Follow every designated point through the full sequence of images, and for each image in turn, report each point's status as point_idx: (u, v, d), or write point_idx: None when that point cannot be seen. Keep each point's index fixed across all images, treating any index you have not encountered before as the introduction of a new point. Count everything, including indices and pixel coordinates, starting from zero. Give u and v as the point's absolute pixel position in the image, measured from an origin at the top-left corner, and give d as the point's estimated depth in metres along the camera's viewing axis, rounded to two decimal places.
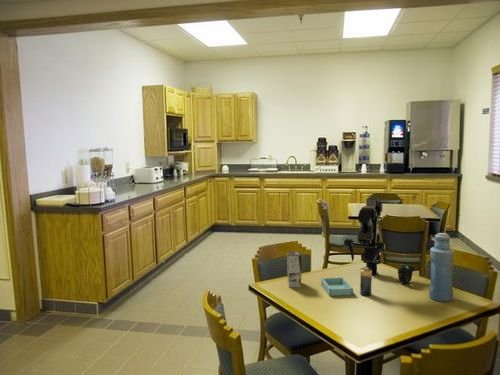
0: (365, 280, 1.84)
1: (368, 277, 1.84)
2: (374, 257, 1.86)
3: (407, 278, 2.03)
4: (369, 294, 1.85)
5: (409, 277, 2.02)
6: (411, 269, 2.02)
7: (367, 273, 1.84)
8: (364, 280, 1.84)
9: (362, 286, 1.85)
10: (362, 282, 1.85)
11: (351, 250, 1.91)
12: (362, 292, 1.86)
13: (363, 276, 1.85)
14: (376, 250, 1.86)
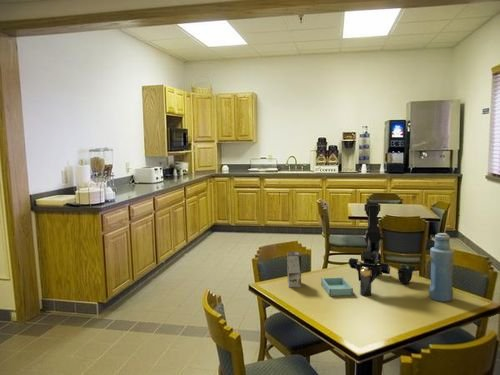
0: (365, 280, 1.84)
1: (368, 277, 1.84)
2: (373, 276, 1.84)
3: (407, 278, 2.03)
4: (369, 294, 1.85)
5: (409, 277, 2.02)
6: (411, 269, 2.02)
7: (367, 273, 1.84)
8: (364, 280, 1.84)
9: (362, 286, 1.85)
10: (362, 282, 1.85)
11: (359, 270, 1.89)
12: (362, 292, 1.86)
13: (363, 276, 1.85)
14: (375, 270, 1.85)
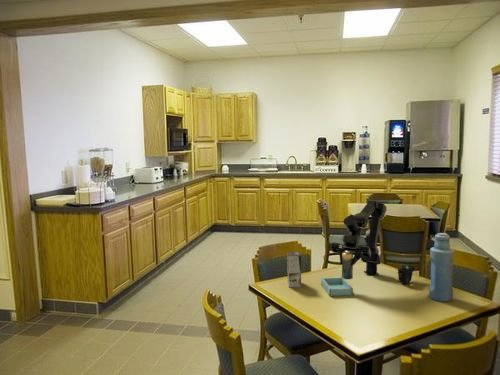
0: (346, 263, 1.87)
1: (349, 260, 1.87)
2: (354, 260, 1.87)
3: (407, 278, 2.03)
4: (350, 277, 1.88)
5: (409, 277, 2.02)
6: (411, 269, 2.02)
7: (348, 257, 1.87)
8: (345, 263, 1.87)
9: (344, 269, 1.88)
10: (343, 265, 1.88)
11: (340, 253, 1.92)
12: (344, 275, 1.89)
13: (344, 259, 1.88)
14: (356, 253, 1.88)
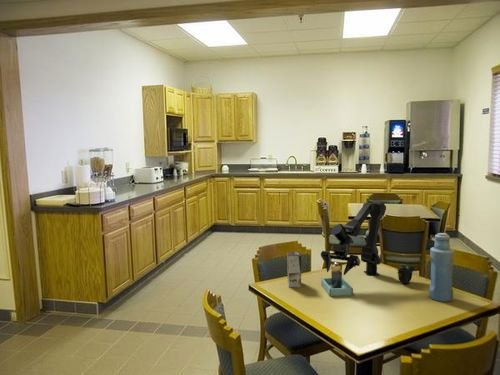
0: (335, 275, 1.90)
1: (338, 271, 1.90)
2: (346, 269, 1.89)
3: (407, 278, 2.03)
4: None
5: (409, 277, 2.02)
6: (411, 269, 2.02)
7: (337, 268, 1.90)
8: (334, 275, 1.91)
9: (333, 281, 1.92)
10: (333, 277, 1.91)
11: (327, 261, 1.96)
12: (333, 286, 1.92)
13: (333, 271, 1.91)
14: (349, 262, 1.90)
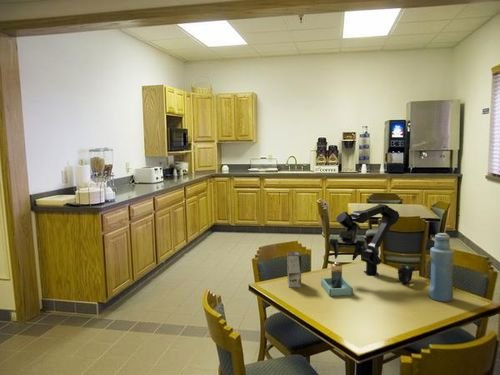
0: (335, 275, 1.90)
1: (338, 271, 1.90)
2: (354, 254, 1.96)
3: (407, 278, 2.03)
4: None
5: (409, 277, 2.02)
6: (411, 269, 2.02)
7: (337, 268, 1.90)
8: (334, 275, 1.91)
9: (333, 280, 1.92)
10: (333, 277, 1.91)
11: (335, 248, 2.03)
12: (333, 286, 1.92)
13: (333, 270, 1.91)
14: (357, 248, 1.97)
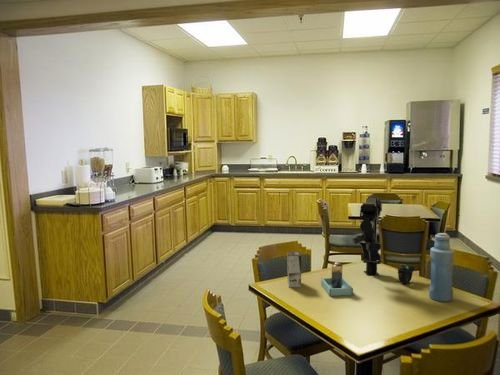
0: (336, 275, 1.90)
1: (338, 271, 1.90)
2: (370, 256, 1.95)
3: (407, 278, 2.03)
4: None
5: (409, 277, 2.02)
6: (411, 269, 2.02)
7: (337, 269, 1.90)
8: (335, 275, 1.90)
9: (333, 281, 1.91)
10: (333, 277, 1.91)
11: (361, 247, 2.05)
12: (333, 286, 1.92)
13: (334, 271, 1.91)
14: (368, 250, 1.93)
